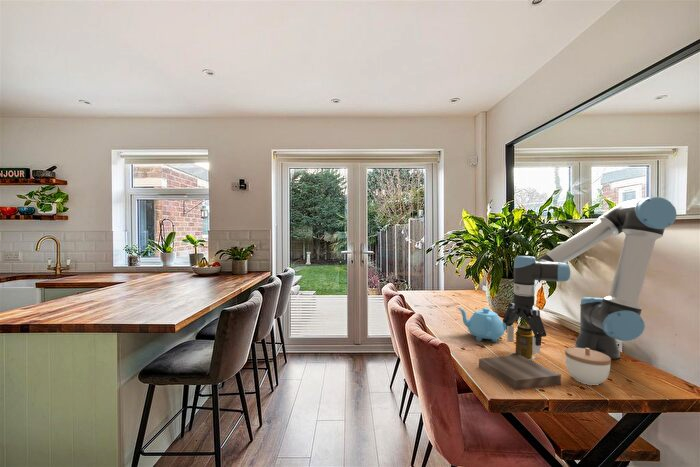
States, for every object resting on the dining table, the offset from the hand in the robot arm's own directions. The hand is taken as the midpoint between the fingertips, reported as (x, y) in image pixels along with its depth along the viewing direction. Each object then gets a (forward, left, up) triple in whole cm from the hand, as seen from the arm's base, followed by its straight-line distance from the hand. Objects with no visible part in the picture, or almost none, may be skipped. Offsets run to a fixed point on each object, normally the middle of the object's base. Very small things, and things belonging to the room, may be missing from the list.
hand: (522, 347), depth 131 cm
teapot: (0, -23, -4) cm, 23 cm away
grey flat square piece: (+15, +14, -4) cm, 21 cm away
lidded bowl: (-5, +23, -4) cm, 24 cm away
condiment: (0, 0, -4) cm, 4 cm away
